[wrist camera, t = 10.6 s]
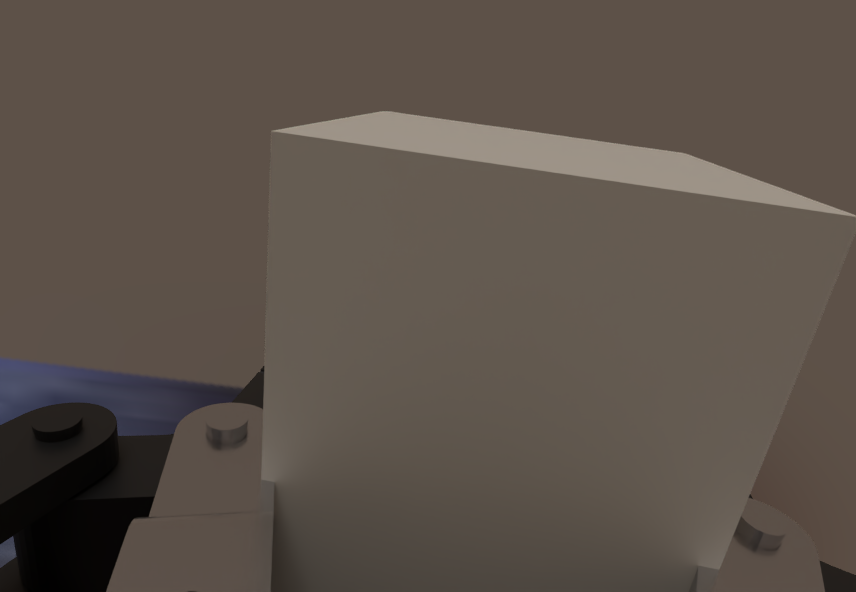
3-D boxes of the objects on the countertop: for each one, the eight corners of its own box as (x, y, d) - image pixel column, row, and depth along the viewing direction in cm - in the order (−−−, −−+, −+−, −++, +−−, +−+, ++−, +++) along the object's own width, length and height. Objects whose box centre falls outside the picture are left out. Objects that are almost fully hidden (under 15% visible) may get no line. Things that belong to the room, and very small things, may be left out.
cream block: (249, 891, 9) (270, 130, 5) (335, 622, 14) (384, 111, 10) (557, 969, 9) (860, 217, 5) (540, 666, 14) (684, 153, 9)
